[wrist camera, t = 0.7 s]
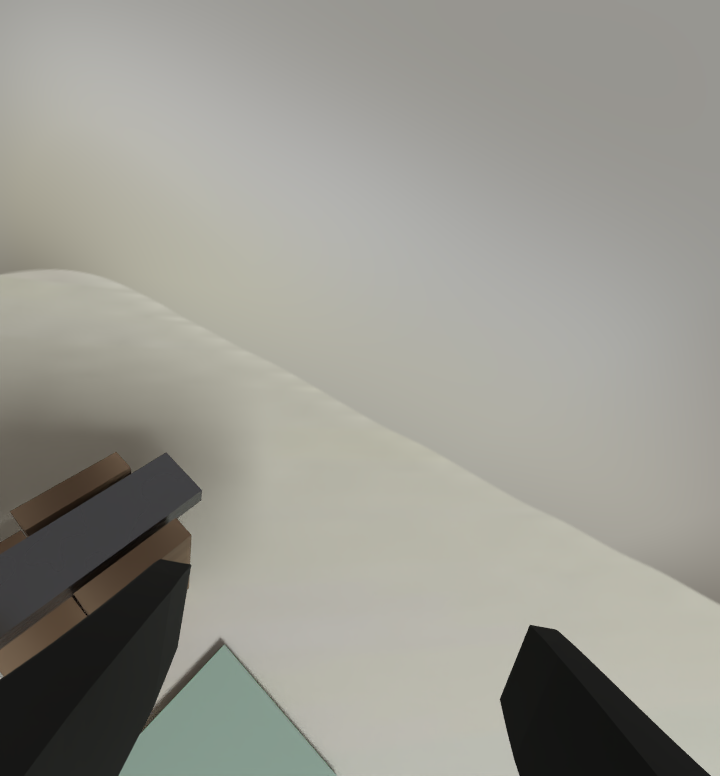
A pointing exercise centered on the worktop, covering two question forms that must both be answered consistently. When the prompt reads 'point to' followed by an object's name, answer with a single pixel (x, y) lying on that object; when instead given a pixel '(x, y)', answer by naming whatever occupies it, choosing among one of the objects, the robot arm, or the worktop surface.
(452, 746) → the worktop surface
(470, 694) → the worktop surface
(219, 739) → the sage rubber pad
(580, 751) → the robot arm
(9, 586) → the dark grey long bar
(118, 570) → the walnut socket block
